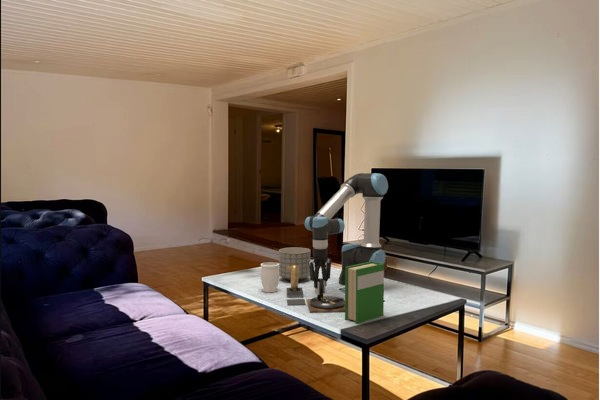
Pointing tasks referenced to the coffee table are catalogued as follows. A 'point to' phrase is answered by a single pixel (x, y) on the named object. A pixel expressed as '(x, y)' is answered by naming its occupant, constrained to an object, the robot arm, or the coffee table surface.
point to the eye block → (294, 293)
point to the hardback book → (364, 291)
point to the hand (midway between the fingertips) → (320, 293)
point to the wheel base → (319, 310)
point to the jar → (270, 276)
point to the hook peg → (294, 277)
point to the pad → (296, 302)
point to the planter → (294, 262)
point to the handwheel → (326, 299)
